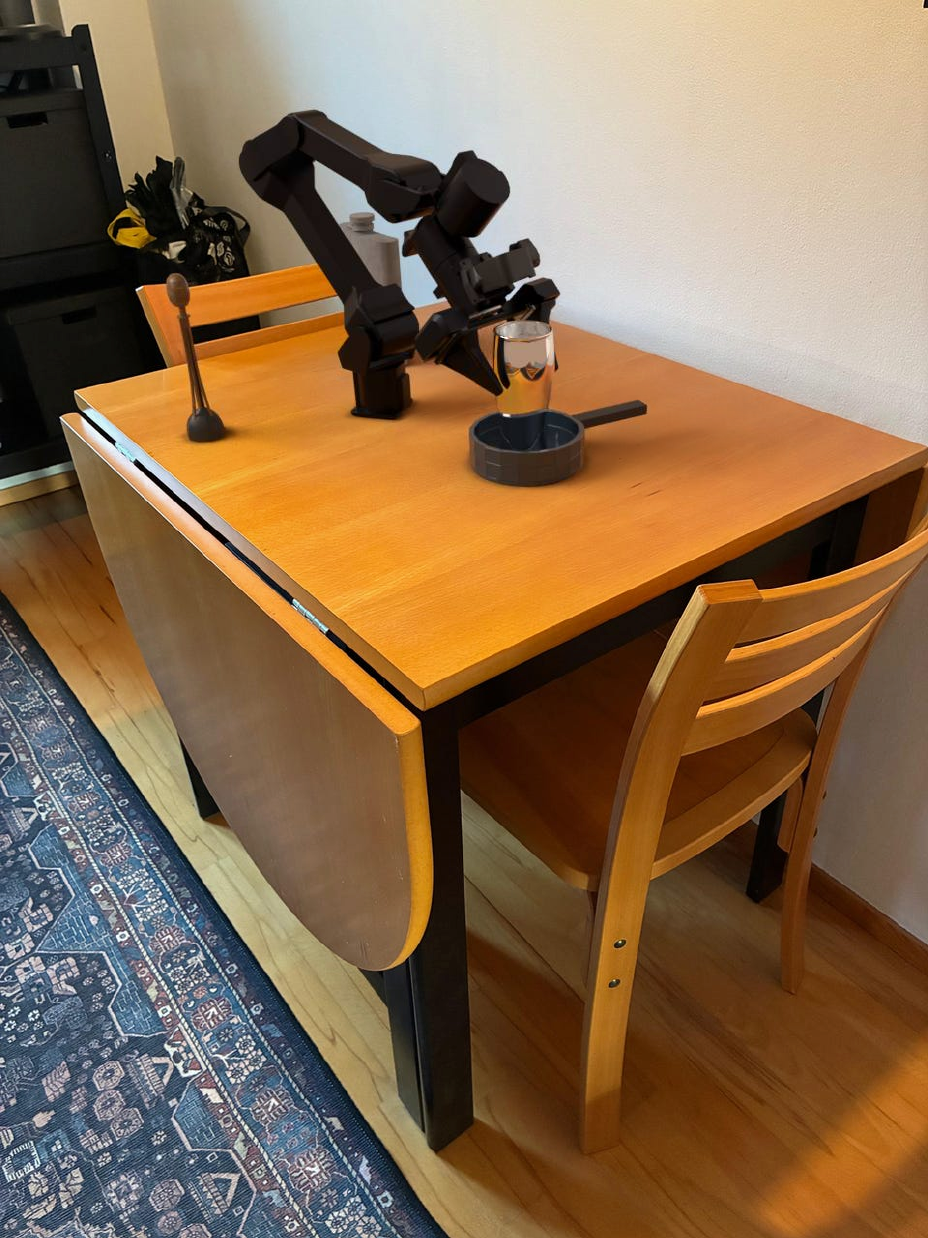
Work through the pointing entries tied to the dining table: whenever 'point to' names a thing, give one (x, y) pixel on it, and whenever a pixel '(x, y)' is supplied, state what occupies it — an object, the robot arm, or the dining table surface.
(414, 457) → the dining table surface
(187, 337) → the wooden tabletop sculpture
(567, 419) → the saucepan
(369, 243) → the hip flask
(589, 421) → the saucepan handle
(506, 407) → the chrome pilsner tumbler
